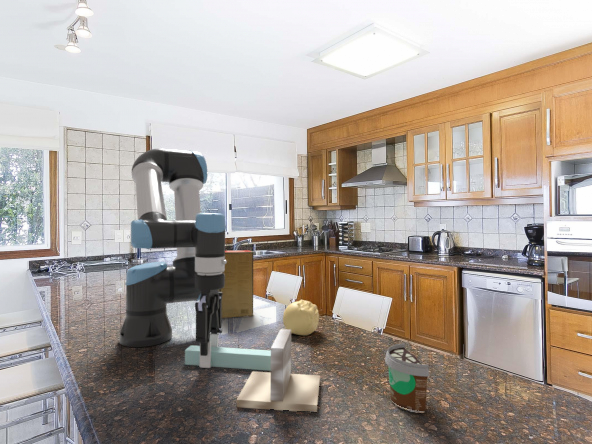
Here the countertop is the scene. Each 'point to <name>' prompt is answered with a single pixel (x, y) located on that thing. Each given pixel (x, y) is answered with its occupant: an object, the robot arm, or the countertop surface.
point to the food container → (407, 378)
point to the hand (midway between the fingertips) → (209, 362)
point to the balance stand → (280, 383)
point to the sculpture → (301, 317)
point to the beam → (232, 358)
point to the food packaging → (238, 284)
